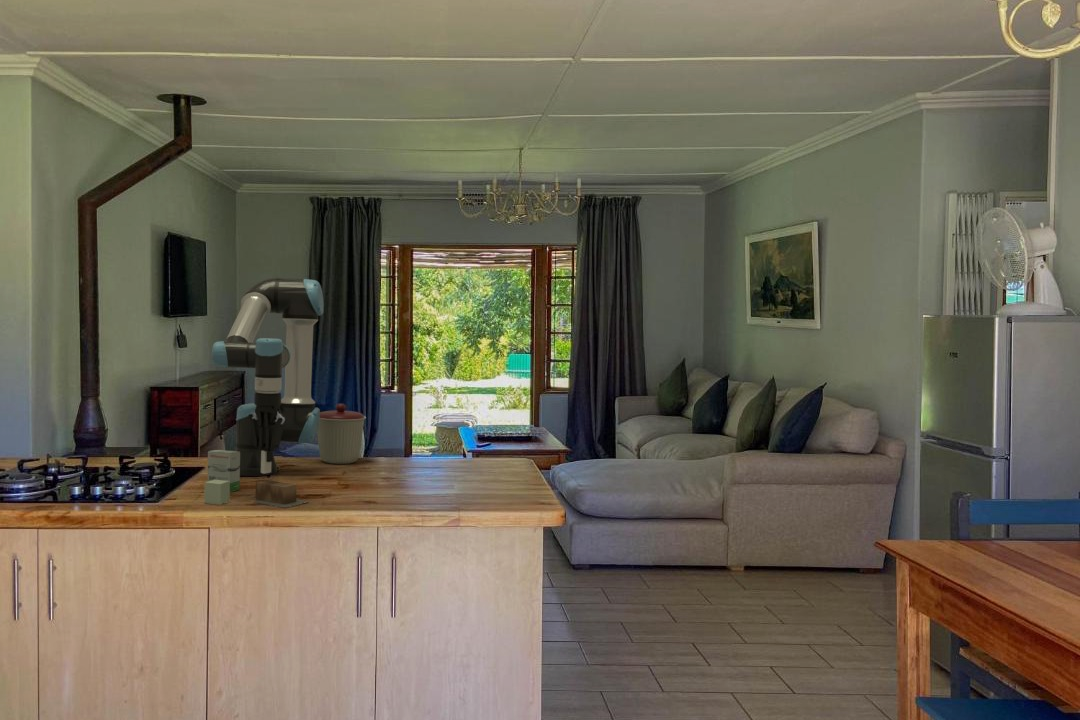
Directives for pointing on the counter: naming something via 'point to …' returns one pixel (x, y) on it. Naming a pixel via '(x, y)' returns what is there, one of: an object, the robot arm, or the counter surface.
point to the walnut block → (276, 492)
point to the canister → (340, 435)
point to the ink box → (224, 467)
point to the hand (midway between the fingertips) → (265, 472)
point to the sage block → (217, 492)
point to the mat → (280, 504)
